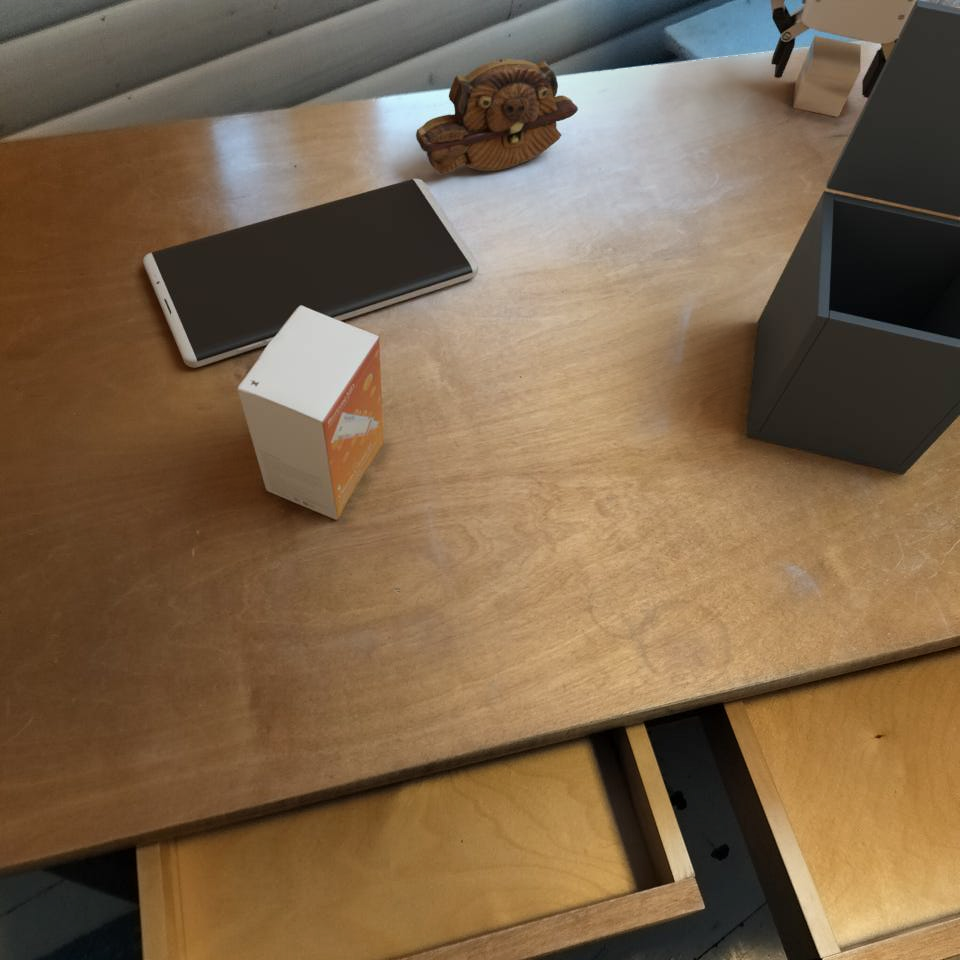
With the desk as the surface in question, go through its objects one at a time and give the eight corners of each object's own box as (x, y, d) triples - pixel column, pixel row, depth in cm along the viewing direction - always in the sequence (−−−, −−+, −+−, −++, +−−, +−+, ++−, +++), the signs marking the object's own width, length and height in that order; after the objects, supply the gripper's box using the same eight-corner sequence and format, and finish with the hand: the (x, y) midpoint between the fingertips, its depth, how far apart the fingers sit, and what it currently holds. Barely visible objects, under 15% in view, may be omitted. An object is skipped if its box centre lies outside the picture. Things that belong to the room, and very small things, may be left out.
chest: (904, 474, 69) (1012, 359, 57) (745, 436, 70) (817, 315, 58) (902, 354, 76) (998, 227, 64) (757, 321, 77) (823, 190, 65)
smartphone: (481, 279, 78) (482, 266, 76) (189, 375, 70) (184, 362, 69) (420, 188, 83) (420, 173, 82) (144, 267, 76) (139, 252, 74)
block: (795, 81, 97) (814, 35, 92) (839, 90, 96) (861, 44, 91) (793, 108, 94) (812, 61, 89) (838, 117, 94) (860, 71, 89)
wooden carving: (432, 199, 83) (434, 108, 74) (412, 170, 85) (412, 78, 76) (577, 156, 87) (594, 65, 79) (554, 129, 89) (569, 38, 81)
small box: (338, 523, 64) (322, 424, 53) (264, 491, 65) (233, 387, 54) (387, 442, 68) (381, 334, 57) (316, 413, 69) (297, 301, 58)
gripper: (990, -89, 80) (899, 77, 95) (808, -127, 81) (746, 44, 96) (996, -49, 76) (900, 118, 91) (804, -89, 77) (740, 83, 92)
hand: (821, 80), depth 93 cm, fingers open, 9 cm apart
